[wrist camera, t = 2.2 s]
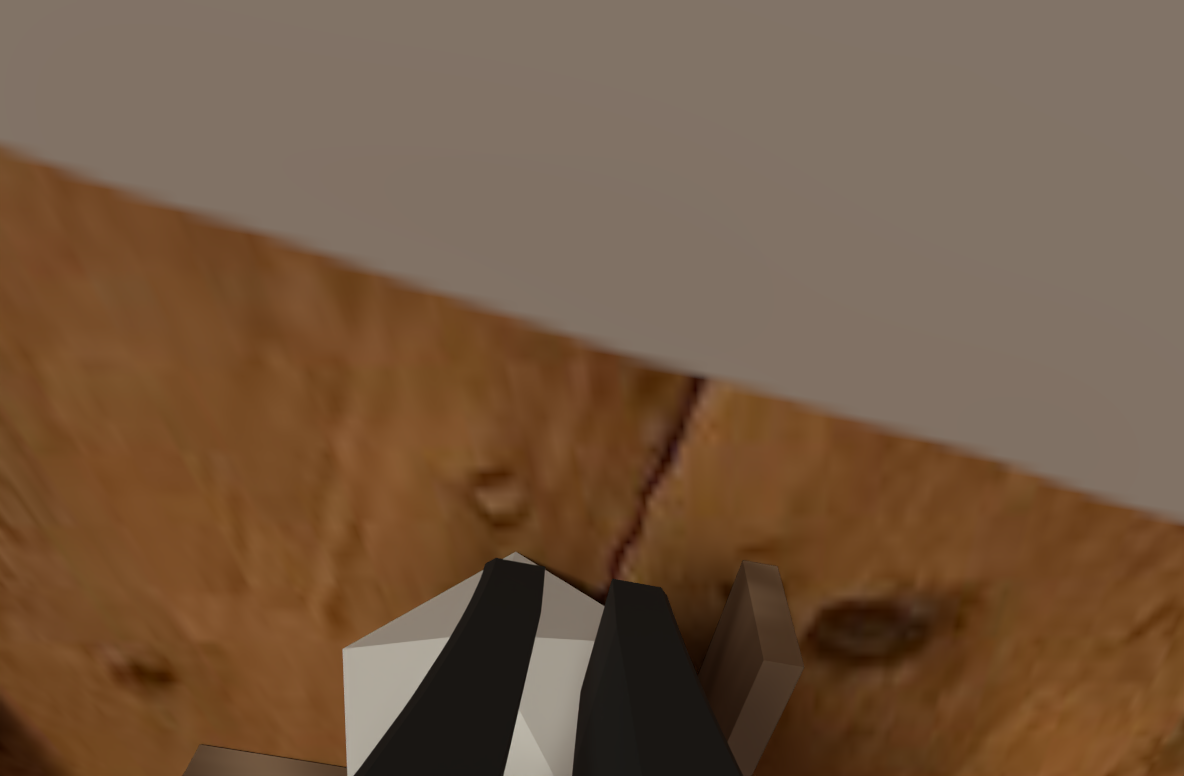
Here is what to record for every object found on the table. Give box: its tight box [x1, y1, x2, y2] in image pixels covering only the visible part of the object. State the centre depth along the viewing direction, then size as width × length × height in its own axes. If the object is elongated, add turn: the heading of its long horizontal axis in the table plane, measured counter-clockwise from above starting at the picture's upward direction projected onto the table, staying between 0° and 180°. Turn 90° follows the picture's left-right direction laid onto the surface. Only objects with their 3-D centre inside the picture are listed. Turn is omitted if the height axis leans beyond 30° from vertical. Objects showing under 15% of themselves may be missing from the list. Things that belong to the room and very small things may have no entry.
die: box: [343, 552, 605, 776], centre depth 19 cm, size 8×9×10 cm
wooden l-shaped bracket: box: [183, 560, 804, 776], centre depth 22 cm, size 17×14×4 cm
